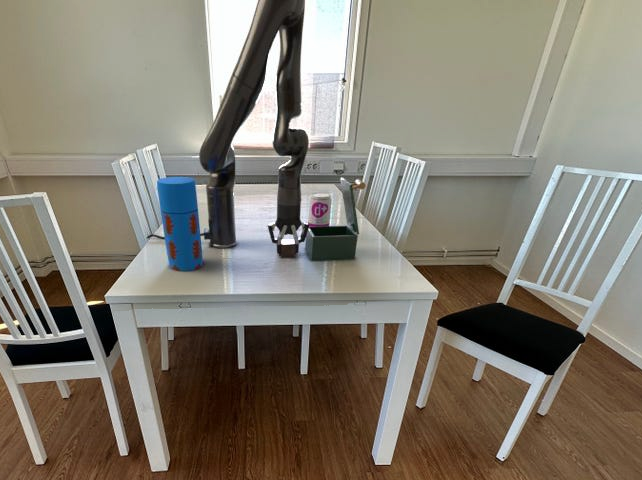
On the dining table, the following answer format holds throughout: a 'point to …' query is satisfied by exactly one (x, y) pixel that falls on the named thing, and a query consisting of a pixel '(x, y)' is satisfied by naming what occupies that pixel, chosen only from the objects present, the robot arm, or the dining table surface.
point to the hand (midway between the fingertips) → (287, 254)
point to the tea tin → (331, 243)
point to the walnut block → (288, 248)
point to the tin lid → (350, 202)
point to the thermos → (180, 222)
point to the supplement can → (319, 209)
